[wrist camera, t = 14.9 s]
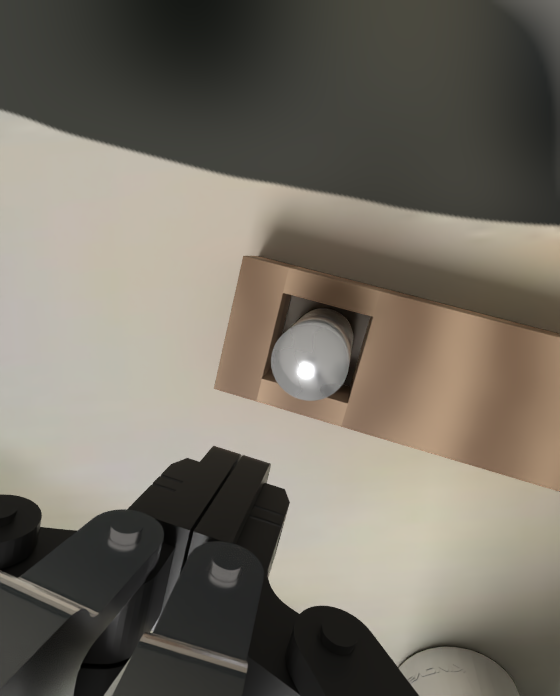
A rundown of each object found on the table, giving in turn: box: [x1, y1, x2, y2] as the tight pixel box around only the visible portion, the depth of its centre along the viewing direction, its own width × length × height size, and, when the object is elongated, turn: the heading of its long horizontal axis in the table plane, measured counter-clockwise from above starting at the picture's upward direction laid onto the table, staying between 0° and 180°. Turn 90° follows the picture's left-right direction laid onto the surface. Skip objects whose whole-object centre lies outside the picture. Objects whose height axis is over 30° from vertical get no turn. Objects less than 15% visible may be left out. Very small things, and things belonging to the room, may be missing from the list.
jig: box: [214, 256, 560, 491], centre depth 29 cm, size 25×8×4 cm, turn 76°
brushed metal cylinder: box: [271, 308, 353, 401], centre depth 28 cm, size 4×4×8 cm
